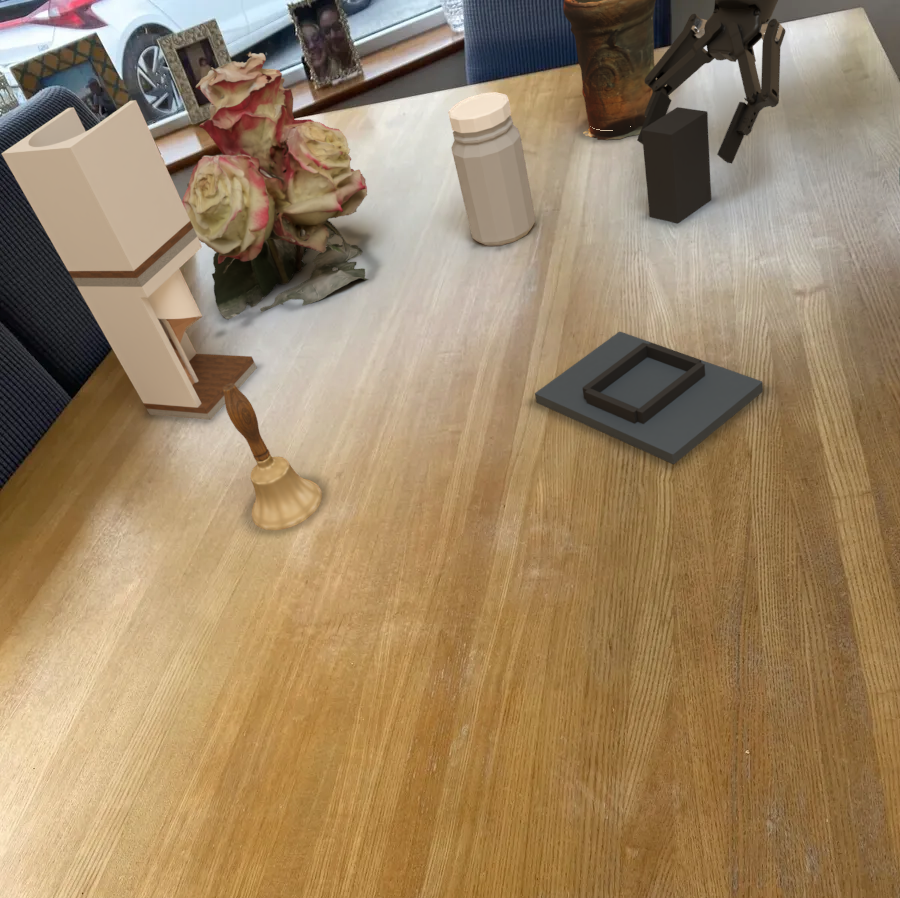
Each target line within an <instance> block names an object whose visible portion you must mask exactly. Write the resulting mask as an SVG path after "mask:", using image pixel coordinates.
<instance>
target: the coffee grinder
mask: <svg viewBox="0 0 900 898" xmlns="http://www.w3.org/2000/svg"><path fill="white" fill-rule="evenodd" d="M1 155H2V157H3V159H4V161H5V163H6V165H7V166H8V167H9V170H10V172H11V173H12V175H13V176H14V178H15V180H16V182H17V183H18V186H19V187H20V190H21V191H22V192H23V194H24V196H25V198H26V200H27V201H28V203H29V205H30V207H31V208H32V210H33V212H34V213H35V216H36V217H37V219H38V220H39V223H40V224H41V226H42V228H43V229H44V231H45V233H46V234H47V236H48V238H49V240H50V242H51V243H52V245H53V247H54V249H55V250H56V253H57V254H58V256H59V257H60V260H61V261H62V263H63V264H64V266H65V268H66V270H67V271H68V273H69V275H70V277H71V279H72V281H73V282H74V284H75V285H76V288H77V289H78V291H79V293H80V294H81V296H82V298H83V300H84V302H85V303H86V305H87V307H88V309H89V310H90V312H91V314H92V316H93V317H94V319H95V321H96V322H97V324H98V326H99V328H100V329H101V331H102V333H103V335H104V337H105V339H106V340H107V342H108V344H109V346H110V348H111V349H112V350H113V352H114V354H115V356H116V358H117V360H118V361H119V363H120V365H121V366H122V368H123V370H124V372H125V374H126V375H127V377H128V379H129V381H130V382H131V384H132V386H133V387H134V389H135V391H136V394H137V395H138V396H139V398H140V400H141V402H142V404H143V405H144V407H145V409H146V411H147V413H148V414H149V415H151V416H160V417H161V416H162V417H174V418H185V419H194V420H195V419H197V420H207V421H212V419H213V418H214V417H215V416H216V415H217V414H218V412H219V411H220V410H221V409H222V408H223V407H224V406H225V397H224V392H223V387H224V386H225V385H227V384H229V383H233V384H235V386H236V387H237V388H238V389H239V390H240V388H241V387H242V385H243V384H245V382H246V381H247V380H248V379H249V378H250V377H251V376H252V374H253V373H254V372H255V371H256V370H257V369H258V367H257V365H256V363H255V361H254V358H253V356H251V355H232V354H231V355H228V354H212V353H211V354H208V353H197V352H196V349H195V348H194V345H193V344H192V342H191V340H190V338H189V336H188V334H187V332H186V331H187V330H188V329H189V328H190V327H192V326H193V325H194V324H195V323H197V322H198V321H199V320H200V319H201V318H203V315H202V313H201V310H200V309H199V306H198V304H197V302H196V300H195V297H194V296H193V294H192V291H191V290H190V288H189V286H188V284H187V281H186V279H185V277H184V274H183V273H182V271H181V267H182V266H184V265H185V264H186V262H188V261H189V260H190V259H191V258H192V257H194V255H195V254H196V253H198V252H199V251H200V250H201V249H202V248H203V246H202V242H201V241H200V240H199V239H198V236H197V234H196V232H195V230H194V228H193V225H192V223H191V221H190V219H189V217H188V214H187V212H186V210H185V208H184V205H183V203H182V199H181V197H180V194H179V192H178V190H177V188H176V186H175V184H174V181H173V179H172V177H171V175H170V172H169V171H168V170H169V169H168V168H167V165H166V164H165V161H164V159H163V157H162V155H161V152H160V151H159V148H158V146H157V144H156V141H155V139H154V137H153V134H152V132H151V130H150V129H149V126H148V124H147V122H146V119H145V117H144V114H143V113H142V111H141V108H140V106H139V104H138V101H137V100H136V99H135V100H129V101H128V102H127V103H125V104H124V105H123V106H120V107H119V108H118V109H117V110H116V111H114V112H112V113H111V114H110V115H108V116H107V117H105V118H104V119H102V121H100V122H98V123H97V124H96V125H94V126H93V127H91V128H90V129H87V130H86V129H85V127H84V125H83V123H82V121H81V119H80V117H79V115H78V114H77V111H76V109H75V107H74V106H73V107H67V108H65V110H63V111H62V112H60V113H58V114H57V115H56V116H54V117H52V119H50V120H48V121H47V122H46V123H44V124H43V125H41V126H40V127H38V128H37V129H35V130H34V131H32V132H31V133H30V134H27V136H25V137H24V138H22V139H21V140H19V141H18V142H16V143H15V144H13V145H11V146H10V147H9V148H7V149H6V150H4V151H3V152H2V153H1Z"/></svg>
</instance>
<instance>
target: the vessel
mask: <svg viewBox="0 0 900 898" xmlns="http://www.w3.org/2000/svg"><path fill="white" fill-rule="evenodd" d="M656 1H657V0H563V8H562V9H563V14H564V17H565V19H567V20H568V22H569V23H570V25H571V27H570V32H571V33H572V34H573V36H574V40H575V47H576V54H577V61H578V64H579V68H580V73H581V82H582V88H581V89H582V91H581V93H582V97H583V100H584V106H585V111H586V117H587V122H588V129H587V130H586V131H583V132H582V133H583V135H585V136H586V137H590V138H596V139H597V140H606V141H609V140H622V139H624V138H626V137H632V136H639V134H640V131H641V129H642V127H643V124H644V122H645V119H646V117H645V116H644V115H645V110H646V108H647V105H648V103H649V100H650V98H651V95H652V92H653V91H652V89H651V88H650V87H649V86H648V85H647V84H645V78H646V76H647V75H648V74H649V73H650V71H651V70H652V69H653V68H654V66H655V65H656V63H655V33H654V15H655V7H656ZM590 126H591V127H590ZM630 126H631V127H630ZM592 127H593V128H595V129H593V128H592ZM596 129H600V130H613V131H600V130H596Z"/></svg>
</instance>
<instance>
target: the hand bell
mask: <svg viewBox="0 0 900 898" xmlns="http://www.w3.org/2000/svg"><path fill="white" fill-rule="evenodd" d="M223 392H224V397H225V404H224V406H225V409H226V410H225V411H226V413H227V416H228V417H229V420H230V421H231V423H232V424H233V427H234V428H235V429H236V431H237V432H238V433H239V434H240V435H242V437H243V438H244V439H245V440H246V442H247V445H248V447H249V448H250V451H251V453H252V455H253V458H254V460H255V462H256V465H254V467H253V468H252V470H251V472H250V480H251V483H252V486H253V489H254V493H255V501H254V503H253V505H252V508H251V520H252V522H253V523H254V524H255V525H256V526H257V527H258V528H260V529H263V530H267V531H280V530H281V531H282V530H285V529H289V528H292V527H295V526H297V525H299V524H301V523H303V522H304V521H305V520H307V519H309V517H311V516H312V515H313V514H314V513H315V512H316V511H317V510H318V508H319V507H320V506H321V503H322V500H323V491H322V489H321V488H320V486H319V485H318V484H317V483H316V482H314V481H312V480H310V479H307V478H304V477H301V476H300V475H299V474H298V473H297V472H296V471H295V469H294V468H293V467H292V466H291V464H290V462H289V461H288V460H287V459H286V458H284V457H282V456H272V455H271V453H270V450H269V449H268V447H267V445H266V443H265V442H264V440H263V438H262V435H261V433H260V428H259V422H258V421H259V420H258V417H257V414H256V412H255V409H254V407H253V405H252V403H251V401H250V399H248V398H247V397H246V396H245V394H244V393H243V392H242V391H241V390H240V388H239V389H238V388H237V387H236V386H235V384H233V383H229V384H227V385H225V386H224V387H223Z"/></svg>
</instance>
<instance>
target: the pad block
mask: <svg viewBox="0 0 900 898" xmlns="http://www.w3.org/2000/svg"><path fill="white" fill-rule="evenodd" d="M708 116H709V115H708V110H700V109H693V108H685V107H678V106H677V107H675V108H674V109H672V110H670V111H669V112H667V113H666V115H664V116H663V117H661V118H660V119H658V120H656V121H655V122H653V123H652V124H650V125H649V126H647V127H645V128H644V129H642V139H643V144H642V149H643V159H644V161H643V162H644V171H645V172H644V173H645V181H646V191H647V204H648V215H649V218H652V219H656V220H660V221H664V222H669V223H673V224H680V223H681V222H683V221H684V220H685V219H686V218H688V217H690V216H691V215H692V214H694V213H695V212H697V211H699V210H700V209H701V208H703V207H704V206H705V205H707V204H709V203H710V202H711V201H712V185H711V166H710V165H711V160H710V159H711V158H710V139H709V137H710V136H709V117H708Z"/></svg>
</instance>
